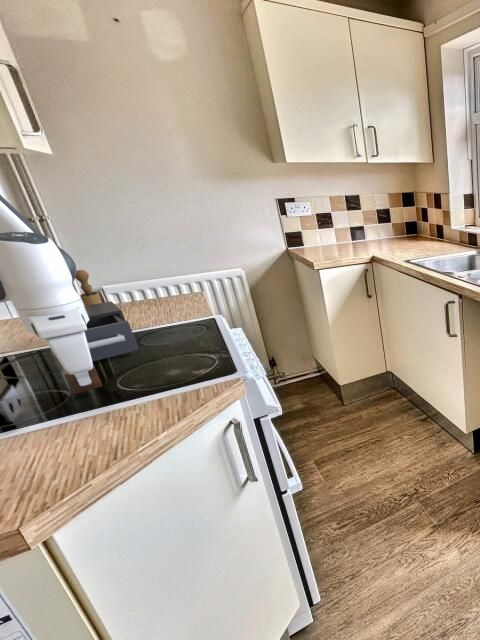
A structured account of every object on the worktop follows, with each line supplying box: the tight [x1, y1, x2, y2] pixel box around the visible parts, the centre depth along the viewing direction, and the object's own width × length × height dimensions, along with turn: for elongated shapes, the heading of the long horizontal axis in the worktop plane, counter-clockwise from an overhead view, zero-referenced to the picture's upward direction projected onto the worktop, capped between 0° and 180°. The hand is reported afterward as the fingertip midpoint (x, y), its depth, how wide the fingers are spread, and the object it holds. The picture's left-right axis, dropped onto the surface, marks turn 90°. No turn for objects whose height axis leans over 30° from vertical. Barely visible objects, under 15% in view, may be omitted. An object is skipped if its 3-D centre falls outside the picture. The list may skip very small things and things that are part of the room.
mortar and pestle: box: [75, 269, 103, 306], centre depth 123 cm, size 7×6×18 cm
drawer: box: [85, 314, 140, 363], centre depth 105 cm, size 17×11×8 cm
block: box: [61, 364, 104, 395], centre depth 88 cm, size 4×4×4 cm
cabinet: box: [84, 301, 127, 321], centre depth 113 cm, size 14×13×10 cm
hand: (83, 380), depth 88 cm, fingers closed on block, 4 cm apart
